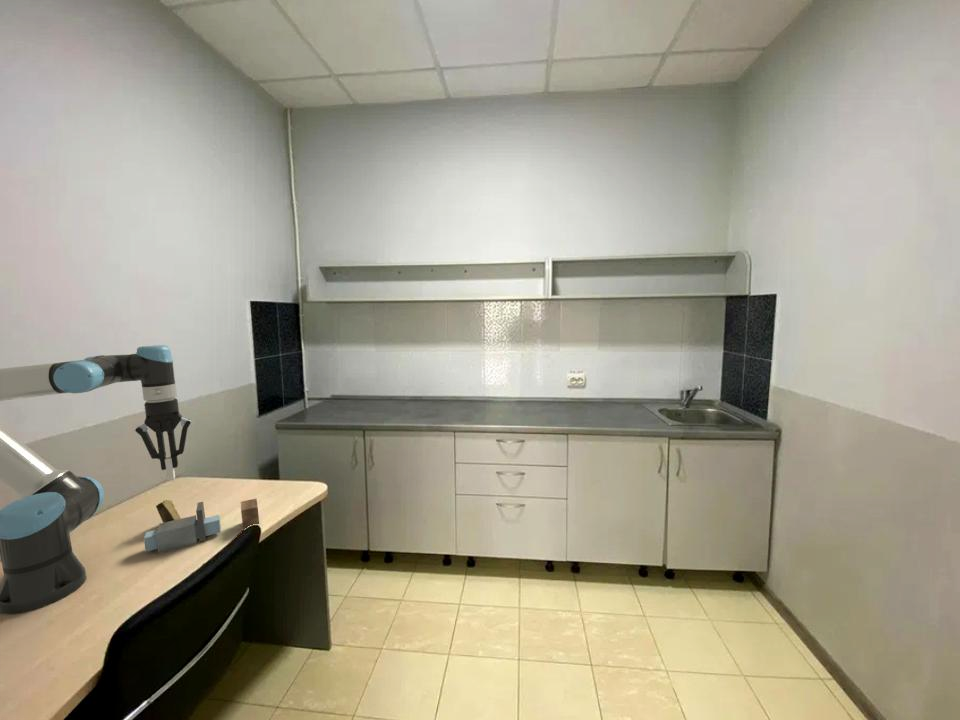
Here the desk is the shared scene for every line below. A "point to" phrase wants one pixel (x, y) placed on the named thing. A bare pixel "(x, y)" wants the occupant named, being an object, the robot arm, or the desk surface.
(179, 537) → the sleeve
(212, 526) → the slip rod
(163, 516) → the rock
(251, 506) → the socket block
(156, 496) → the desk surface
